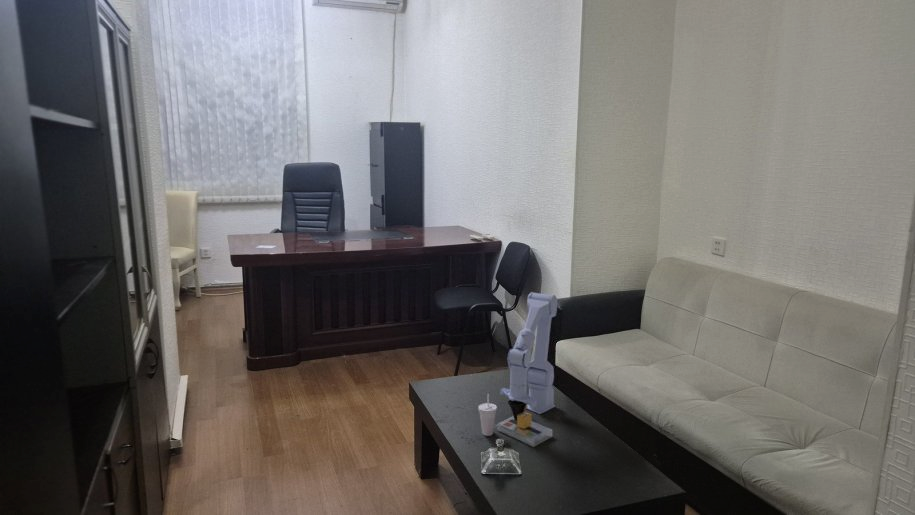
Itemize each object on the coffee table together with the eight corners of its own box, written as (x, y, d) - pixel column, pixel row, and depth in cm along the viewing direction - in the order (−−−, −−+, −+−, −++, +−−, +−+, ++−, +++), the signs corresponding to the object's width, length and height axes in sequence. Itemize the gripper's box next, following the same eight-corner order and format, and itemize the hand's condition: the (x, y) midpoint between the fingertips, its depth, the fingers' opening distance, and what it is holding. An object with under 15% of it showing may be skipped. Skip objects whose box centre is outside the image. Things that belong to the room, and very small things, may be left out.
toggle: (524, 422, 206) (524, 411, 205) (531, 425, 204) (531, 413, 203) (517, 426, 203) (517, 414, 202) (523, 429, 201) (524, 417, 200)
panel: (516, 420, 213) (516, 414, 213) (552, 436, 202) (552, 429, 201) (497, 430, 206) (497, 423, 206) (533, 447, 195) (534, 439, 194)
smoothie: (498, 430, 206) (499, 392, 203) (493, 438, 200) (494, 400, 197) (481, 427, 208) (481, 390, 205) (475, 435, 202) (475, 397, 200)
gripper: (494, 379, 205) (494, 416, 208) (527, 392, 195) (526, 430, 198) (508, 374, 210) (507, 410, 213) (540, 386, 200) (539, 423, 202)
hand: (517, 419), depth 205 cm, fingers closed
